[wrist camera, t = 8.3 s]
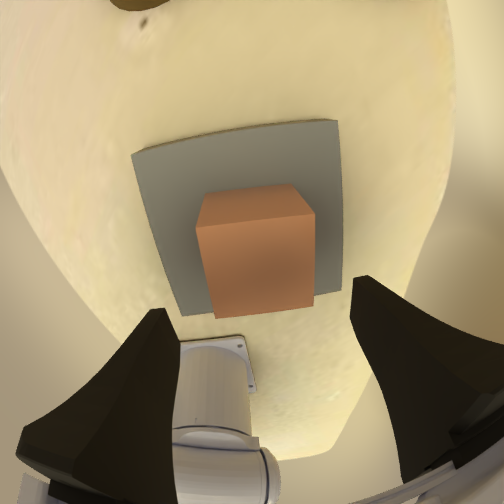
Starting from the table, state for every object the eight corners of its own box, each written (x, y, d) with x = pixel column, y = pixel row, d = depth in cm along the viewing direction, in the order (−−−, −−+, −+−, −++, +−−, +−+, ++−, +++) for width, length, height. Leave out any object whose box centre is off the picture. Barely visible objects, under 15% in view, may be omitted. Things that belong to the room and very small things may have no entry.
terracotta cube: (294, 257, 18) (313, 306, 14) (218, 267, 18) (215, 318, 14) (291, 183, 16) (315, 213, 11) (205, 193, 16) (195, 227, 11)
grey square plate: (329, 269, 22) (341, 290, 20) (186, 292, 23) (182, 316, 20) (321, 118, 17) (337, 120, 14) (145, 147, 17) (130, 154, 14)
